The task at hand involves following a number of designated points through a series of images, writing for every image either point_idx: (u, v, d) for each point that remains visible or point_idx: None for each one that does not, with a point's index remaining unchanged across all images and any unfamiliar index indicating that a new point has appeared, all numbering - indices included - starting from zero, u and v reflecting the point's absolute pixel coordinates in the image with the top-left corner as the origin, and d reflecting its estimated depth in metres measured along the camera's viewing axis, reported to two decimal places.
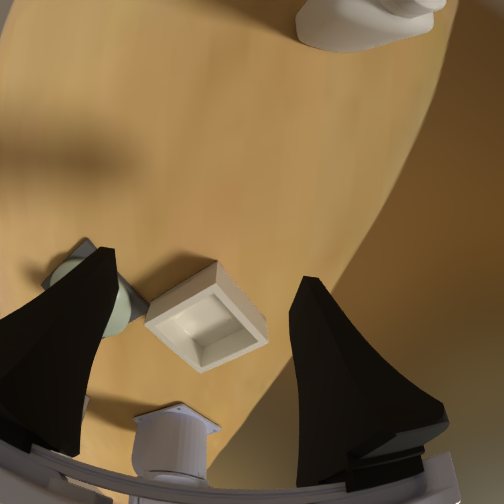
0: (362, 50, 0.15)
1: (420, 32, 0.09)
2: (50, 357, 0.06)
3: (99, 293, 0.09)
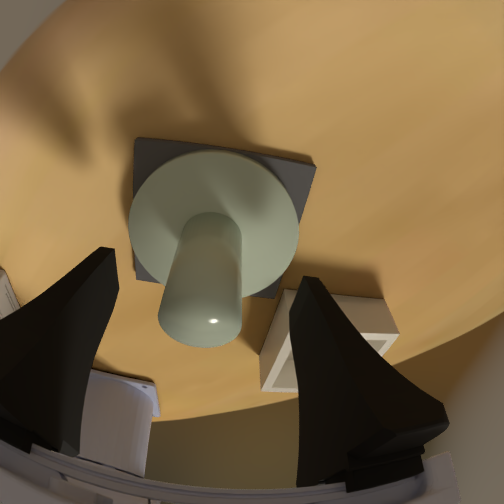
0: None
1: None
2: (50, 357, 0.06)
3: (99, 293, 0.09)
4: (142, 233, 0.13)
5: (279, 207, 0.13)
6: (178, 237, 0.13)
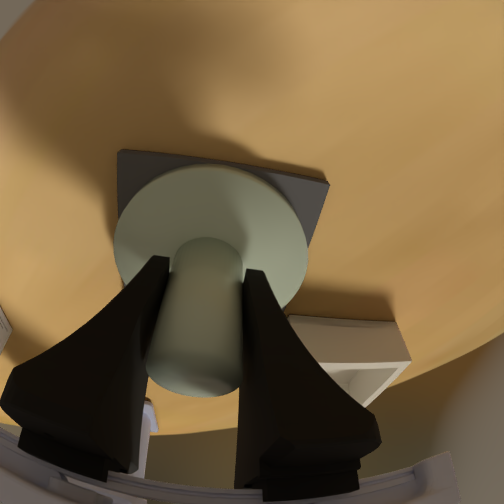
0: None
1: None
2: (125, 377, 0.06)
3: (158, 304, 0.09)
4: (129, 259, 0.12)
5: (286, 232, 0.11)
6: (170, 264, 0.12)
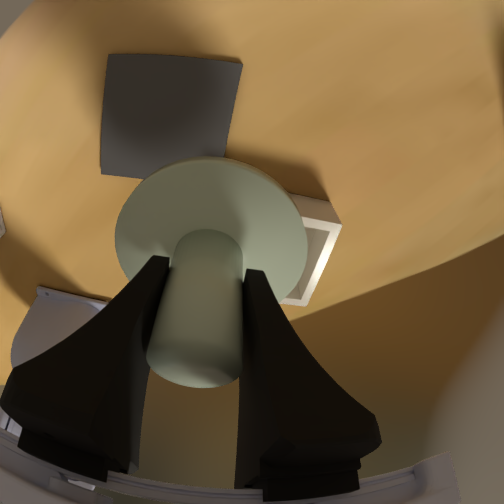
0: None
1: None
2: (125, 377, 0.06)
3: (158, 304, 0.09)
4: (131, 253, 0.12)
5: (285, 221, 0.11)
6: (171, 257, 0.12)
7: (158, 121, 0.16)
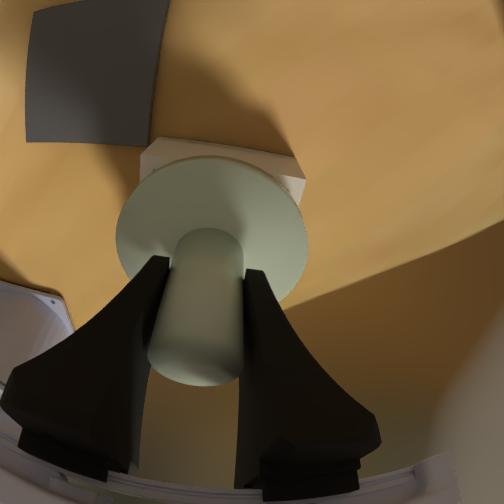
0: None
1: None
2: (125, 377, 0.06)
3: (158, 304, 0.09)
4: (132, 254, 0.12)
5: (284, 218, 0.11)
6: (172, 257, 0.12)
7: (78, 72, 0.11)
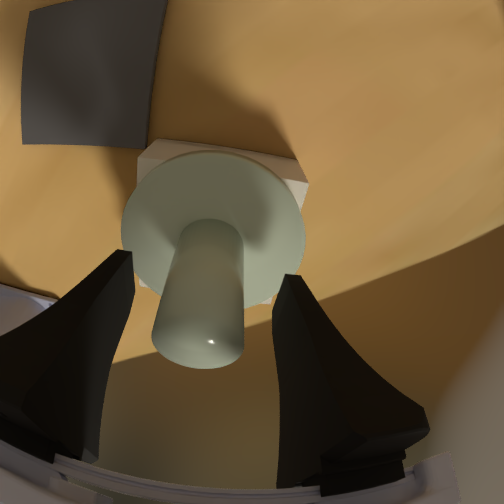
0: None
1: None
2: (73, 364, 0.06)
3: (118, 297, 0.09)
4: (136, 245, 0.12)
5: (282, 209, 0.12)
6: (175, 247, 0.12)
7: (74, 72, 0.10)
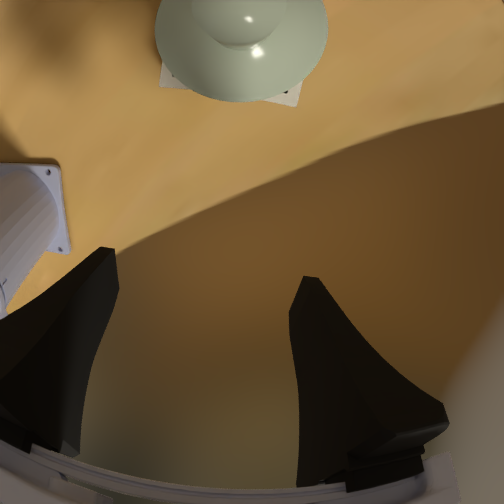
0: None
1: None
2: (50, 357, 0.06)
3: (99, 293, 0.09)
4: (169, 25, 0.10)
5: None
6: None
7: None
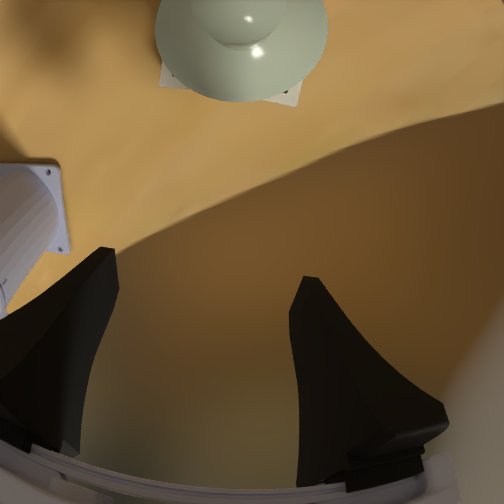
0: None
1: None
2: (50, 357, 0.06)
3: (99, 293, 0.09)
4: (169, 25, 0.10)
5: None
6: None
7: None
